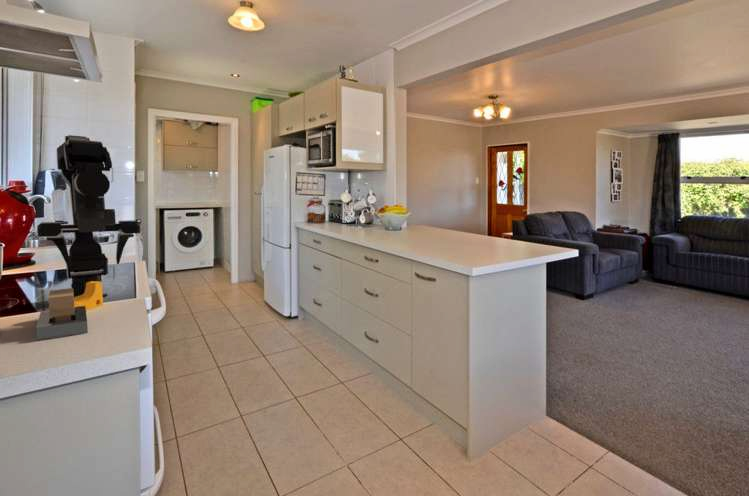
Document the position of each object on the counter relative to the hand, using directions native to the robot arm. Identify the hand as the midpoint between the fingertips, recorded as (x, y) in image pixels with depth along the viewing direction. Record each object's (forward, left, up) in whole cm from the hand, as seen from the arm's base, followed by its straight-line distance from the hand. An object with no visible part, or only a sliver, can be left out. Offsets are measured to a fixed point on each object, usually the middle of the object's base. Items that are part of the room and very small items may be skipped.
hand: (94, 265), depth 93 cm
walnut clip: (+8, 0, -12) cm, 15 cm away
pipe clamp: (-2, -8, -12) cm, 15 cm away
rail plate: (+9, 0, -12) cm, 15 cm away
